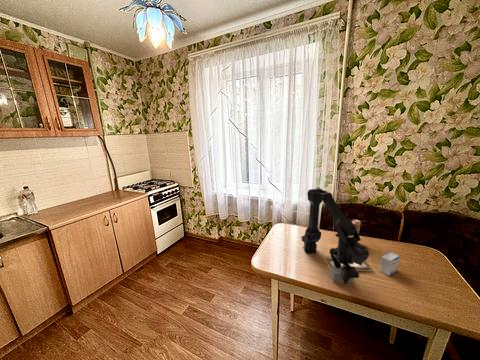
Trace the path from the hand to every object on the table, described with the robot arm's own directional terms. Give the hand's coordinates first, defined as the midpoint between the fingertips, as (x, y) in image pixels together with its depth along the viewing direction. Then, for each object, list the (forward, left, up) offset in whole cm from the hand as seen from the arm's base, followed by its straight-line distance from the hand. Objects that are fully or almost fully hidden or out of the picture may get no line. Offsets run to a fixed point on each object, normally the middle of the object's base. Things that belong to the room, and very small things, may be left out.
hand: (341, 277), depth 96 cm
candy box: (+19, +32, -2) cm, 37 cm away
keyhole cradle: (+7, +11, -1) cm, 13 cm away
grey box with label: (0, 0, -2) cm, 2 cm away
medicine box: (+26, +7, -2) cm, 27 cm away
